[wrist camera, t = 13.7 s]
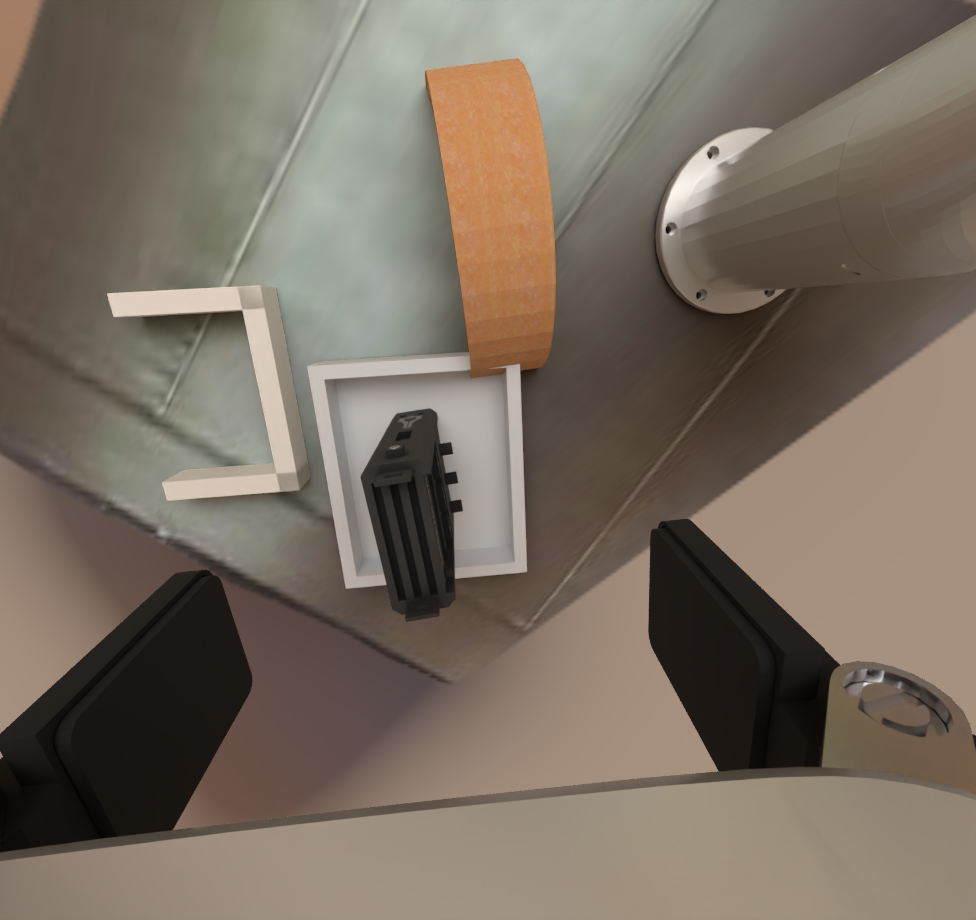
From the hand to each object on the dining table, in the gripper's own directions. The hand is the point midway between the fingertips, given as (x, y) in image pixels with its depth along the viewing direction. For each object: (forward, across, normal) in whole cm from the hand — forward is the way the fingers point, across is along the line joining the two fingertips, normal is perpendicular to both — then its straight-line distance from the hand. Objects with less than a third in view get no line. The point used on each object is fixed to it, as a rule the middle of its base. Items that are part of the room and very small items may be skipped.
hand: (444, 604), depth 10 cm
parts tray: (+29, +3, +6) cm, 30 cm away
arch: (+30, -3, -11) cm, 32 cm away
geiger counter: (+28, +3, +6) cm, 29 cm away
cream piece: (+28, +18, -1) cm, 34 cm away
